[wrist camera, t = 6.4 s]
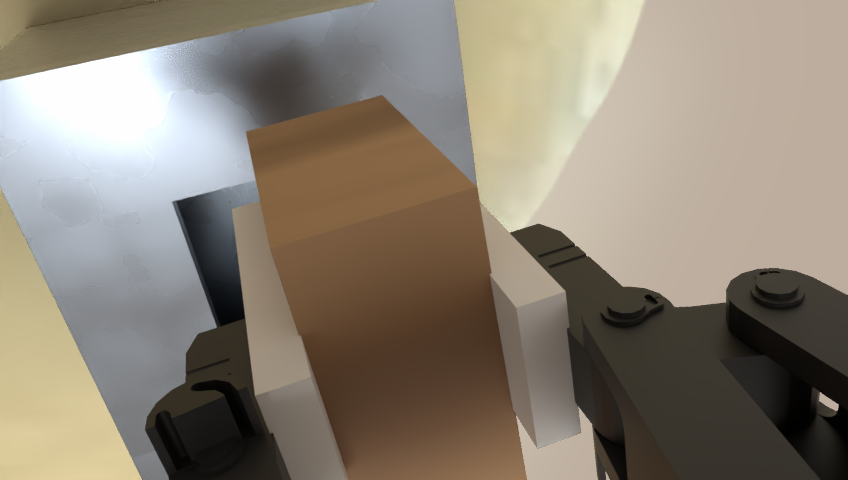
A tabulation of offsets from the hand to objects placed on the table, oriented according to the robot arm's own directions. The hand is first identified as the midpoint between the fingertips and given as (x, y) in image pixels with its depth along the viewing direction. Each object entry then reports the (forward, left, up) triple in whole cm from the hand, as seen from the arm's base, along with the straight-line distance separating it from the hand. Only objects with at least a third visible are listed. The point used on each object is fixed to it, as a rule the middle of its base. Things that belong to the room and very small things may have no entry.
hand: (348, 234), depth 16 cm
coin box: (+5, -2, -17) cm, 18 cm away
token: (0, 0, -1) cm, 1 cm away
